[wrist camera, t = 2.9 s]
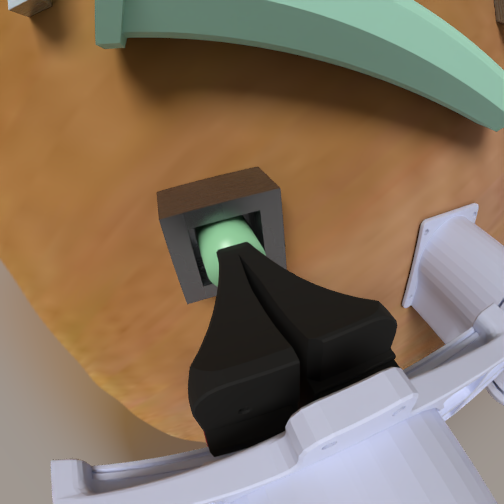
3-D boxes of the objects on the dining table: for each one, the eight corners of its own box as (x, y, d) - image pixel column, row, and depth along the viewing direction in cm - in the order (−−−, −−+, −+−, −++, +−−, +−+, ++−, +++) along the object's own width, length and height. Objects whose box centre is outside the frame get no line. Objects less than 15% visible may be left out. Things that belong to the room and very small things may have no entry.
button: (249, 244, 16) (268, 279, 14) (201, 258, 16) (213, 296, 14) (242, 200, 15) (263, 231, 13) (189, 214, 15) (200, 248, 12)
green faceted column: (545, 102, 11) (112, -96, 3) (505, 158, 16) (90, 76, 8) (492, 57, 15) (132, -78, 6) (460, 110, 19) (114, 31, 11)
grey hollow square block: (266, 244, 18) (286, 274, 16) (180, 268, 17) (187, 304, 15) (257, 166, 15) (280, 188, 13) (156, 191, 15) (159, 219, 12)
